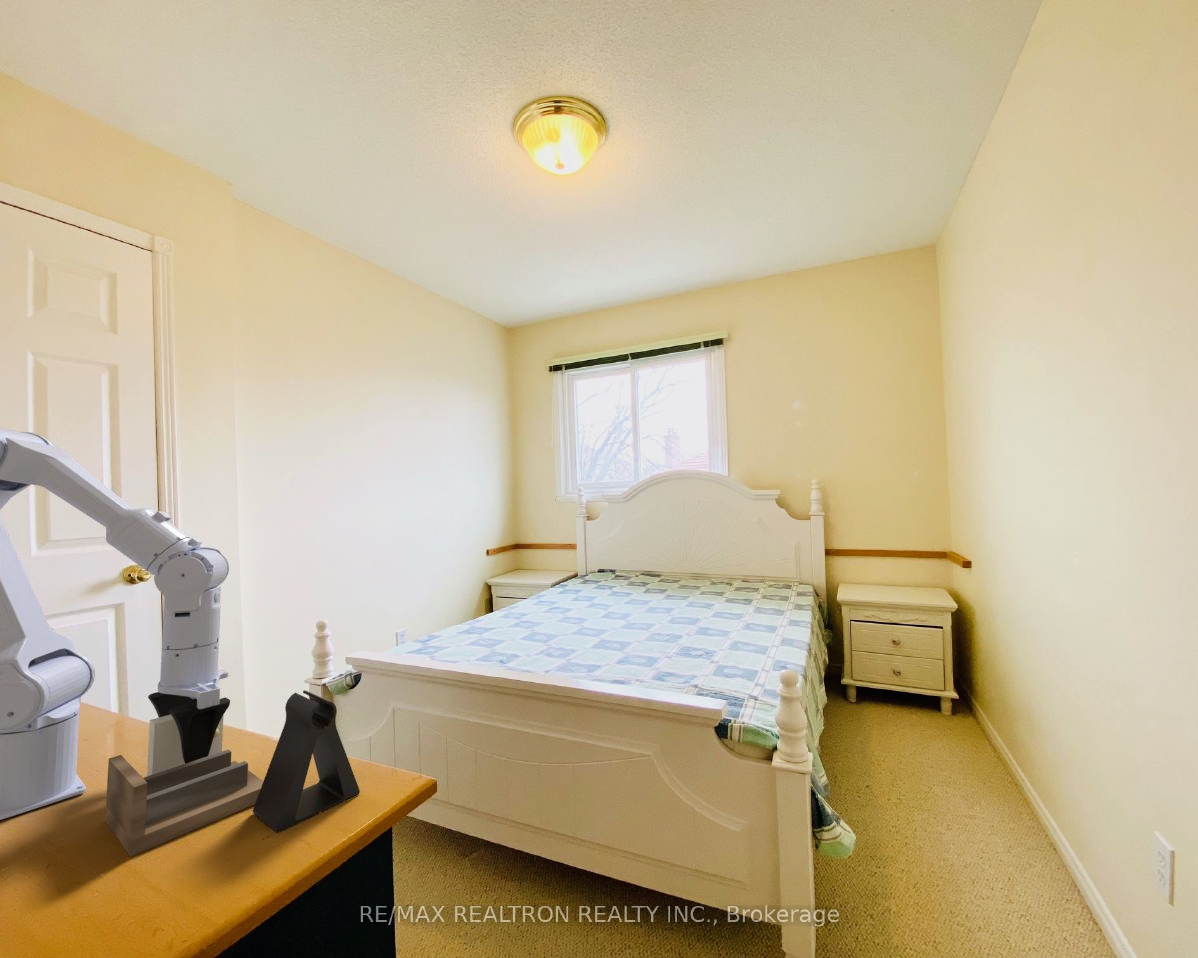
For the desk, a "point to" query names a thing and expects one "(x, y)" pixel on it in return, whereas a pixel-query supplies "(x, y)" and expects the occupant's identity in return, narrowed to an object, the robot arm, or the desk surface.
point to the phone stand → (305, 766)
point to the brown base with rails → (175, 798)
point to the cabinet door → (171, 744)
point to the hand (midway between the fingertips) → (186, 753)
